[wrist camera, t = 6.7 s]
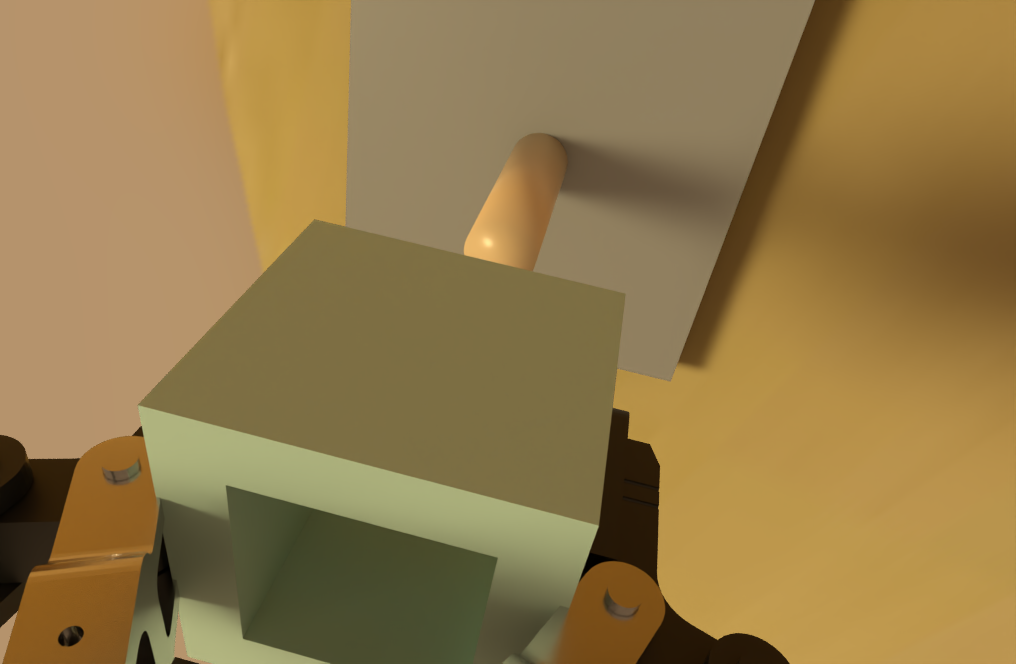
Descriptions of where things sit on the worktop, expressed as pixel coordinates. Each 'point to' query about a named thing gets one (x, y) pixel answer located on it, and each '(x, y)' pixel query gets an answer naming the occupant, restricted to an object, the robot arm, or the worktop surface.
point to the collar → (384, 456)
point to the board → (568, 139)
